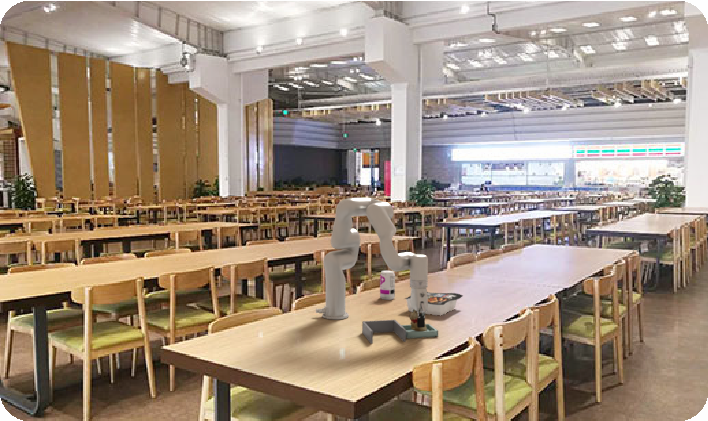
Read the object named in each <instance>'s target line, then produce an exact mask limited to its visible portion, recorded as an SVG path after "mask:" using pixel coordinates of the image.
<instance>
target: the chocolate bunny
mask: <svg viewBox="0 0 708 421" xmlns="http://www.w3.org/2000/svg"><path fill="white" fill-rule="evenodd" d="M419 310H420V309H419ZM420 313H422V312H420ZM417 318H418V313H417V311H416V310H414V312H411V313H410V314H409V320H410V325H411V326H412V327H411V329H412V330H414V331H427V328H426V325H425V327H417Z"/></svg>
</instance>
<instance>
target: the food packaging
mask: <svg viewBox="0 0 708 421" xmlns="http://www.w3.org/2000/svg"><path fill="white" fill-rule="evenodd" d="M463 296H464V295H462V294H459V293H455V292H429V291H427V298H428V310H427V311H426V312H425V315H426V314H427V315H430V314H432V316H437V315H440V316H439V317H442V316H444V315H447V314H448V313H449V312H452V310H455V309H456V307H457V306H456V305H457V300H459V299H462V297H463ZM404 300H406V306H407V309H408V311H409V312H411V313H412V307H411V295H409V296H407V297H405V298H404ZM454 308H455V309H454ZM420 310H421V309H420ZM447 312H448V313H447ZM446 313H447V314H446ZM441 315H442V316H441Z"/></svg>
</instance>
